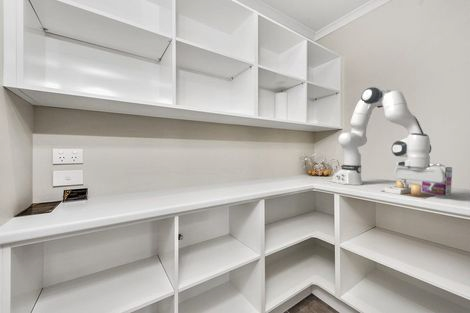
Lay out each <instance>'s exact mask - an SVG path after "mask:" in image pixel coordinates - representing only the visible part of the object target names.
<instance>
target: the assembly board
mask: <svg viewBox="0 0 470 313" xmlns="http://www.w3.org/2000/svg"><path fill="white" fill-rule="evenodd" d="M381 192H383V193H388V194H390V193H389V192H385V189H384V190H381ZM392 194H394V195H396V194H395V193H392ZM398 195H400V196H406V197H413V198H418V199H424V200H426V199H429V198H433V197H436V194H435V195H434V194H427V193H422V192H421V197H418V196H412V195H411V192H409V193H405V194H398Z"/></svg>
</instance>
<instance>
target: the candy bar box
mask: <svg viewBox="0 0 470 313" xmlns="http://www.w3.org/2000/svg"><path fill="white" fill-rule="evenodd" d="M445 167H446V172H445V178H446V181H445V182H443V183H436V182H435V185H434V186H433V187H432V191H428V190H427V187H430V186H431V184H430V182H426V181H421V184H422V185H421V192H425V193H431V194H435V195H436V194H438V195H442V196H451V195H452V178H453V177H452V176H453V174H452V173H453V167H450V166H445Z"/></svg>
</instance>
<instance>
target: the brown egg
mask: <svg viewBox="0 0 470 313" xmlns="http://www.w3.org/2000/svg"><path fill="white" fill-rule="evenodd" d="M410 188H411V195H412V196H418V197H421V193H422V185H421V184H419V183H418V184H416V183H411V184H410Z"/></svg>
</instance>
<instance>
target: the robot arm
mask: <svg viewBox="0 0 470 313" xmlns="http://www.w3.org/2000/svg"><path fill="white" fill-rule="evenodd" d="M360 98H361V99H360V100H358V102H357V104H356V105H355V108H354V109H353V113H352V116H351V119H350V121H349V122H350V123H349V125H350V131H347V132H343V133H341V134H340V135H338V139H337V140H338V143H339V145H340V146H341V149H342V152H343V164H342V165H340V168H341V169H340V170H338V171H336V172H334V174H333V176H332V179H330V180H329V182H332V183H337V184H340V185H341V184H342V185H350V186H351V185H353V186H360V185H364V183H363V180H362V165H361V164H362V163H361V162H362V161H361V160H362V154H361V153H360V152H359V148H360V147H363V146H364V145H366V144H367V142H368V138H367V128H368V124H369V121H370V118H371V116H372V112H373V110H374V109H375V108H383V113H384V117H385V119H386V120H387V121H389V122H390V123H393V124H396V125H399V126H401V127H403V128H405V129H406V130H407V133H408V135H407V136H406V137H405V138H403V139H400V140H397V141H394V142H393V143H392V146H391V152H392V154H393V155H394V156H395V157H400V158H403V157H404V158H406V159H405V160H401V161H397V162H395V165H396V166H394V169H393V170H394V171H393V178H395V179H398V180H401V181H402V182H403V184H404V187H405V188H408V187H409V184H408V183H407V181H418V182H422V181H426V182H430V184H431V186H430V187H427V190H428V191H432V187H433V186H434V185H435V182H436V183H443V182H445V181H446V178H445V172H446V167H447V166H445V165H444V164H442V163H437V164H436V163H431V161H430V160H431V159H430V158H431V157H430V153H431V152H432V145H431V139H430V136H429V135H428V134H426V133H424V131H423V128H422V127H421V124H420V122H419V120H418V119H417V116H415V115H413V114H412V112H411V111H410V109H409V106H408V103H407V100H406V98H405V96H404V94H403V92H402V91H400V90H389V89H387V88H381V87H380V88H379V87H376V86H375V87H373V86H371V87H367V88H366V89H364V90H363V92H362V93H361V97H360ZM405 181H406V182H405ZM409 188H410V187H409Z"/></svg>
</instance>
